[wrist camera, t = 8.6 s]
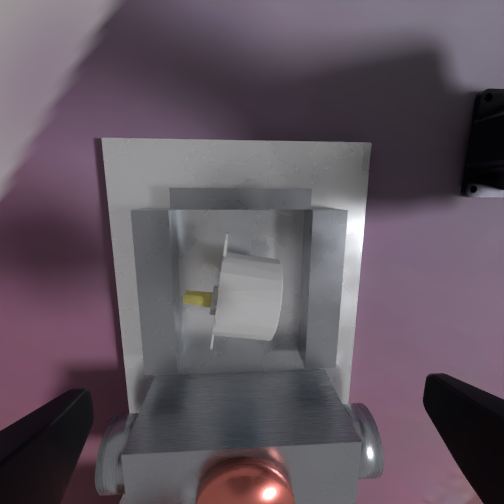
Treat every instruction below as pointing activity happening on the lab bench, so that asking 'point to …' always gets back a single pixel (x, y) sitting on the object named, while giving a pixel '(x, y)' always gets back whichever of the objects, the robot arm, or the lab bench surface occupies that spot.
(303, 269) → the grey metal assembly fixture
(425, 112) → the lab bench surface
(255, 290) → the electric motor
